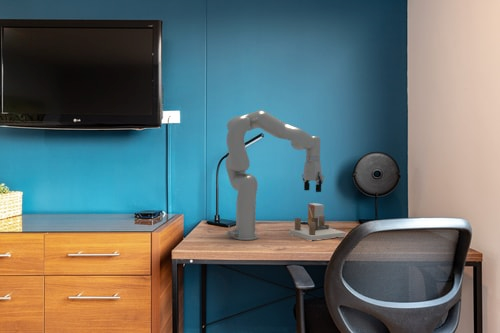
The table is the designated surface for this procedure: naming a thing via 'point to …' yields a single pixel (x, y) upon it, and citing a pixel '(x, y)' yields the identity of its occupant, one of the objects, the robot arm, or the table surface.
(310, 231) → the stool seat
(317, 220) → the grey and brown lever
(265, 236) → the table surface
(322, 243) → the table surface
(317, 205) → the small box
